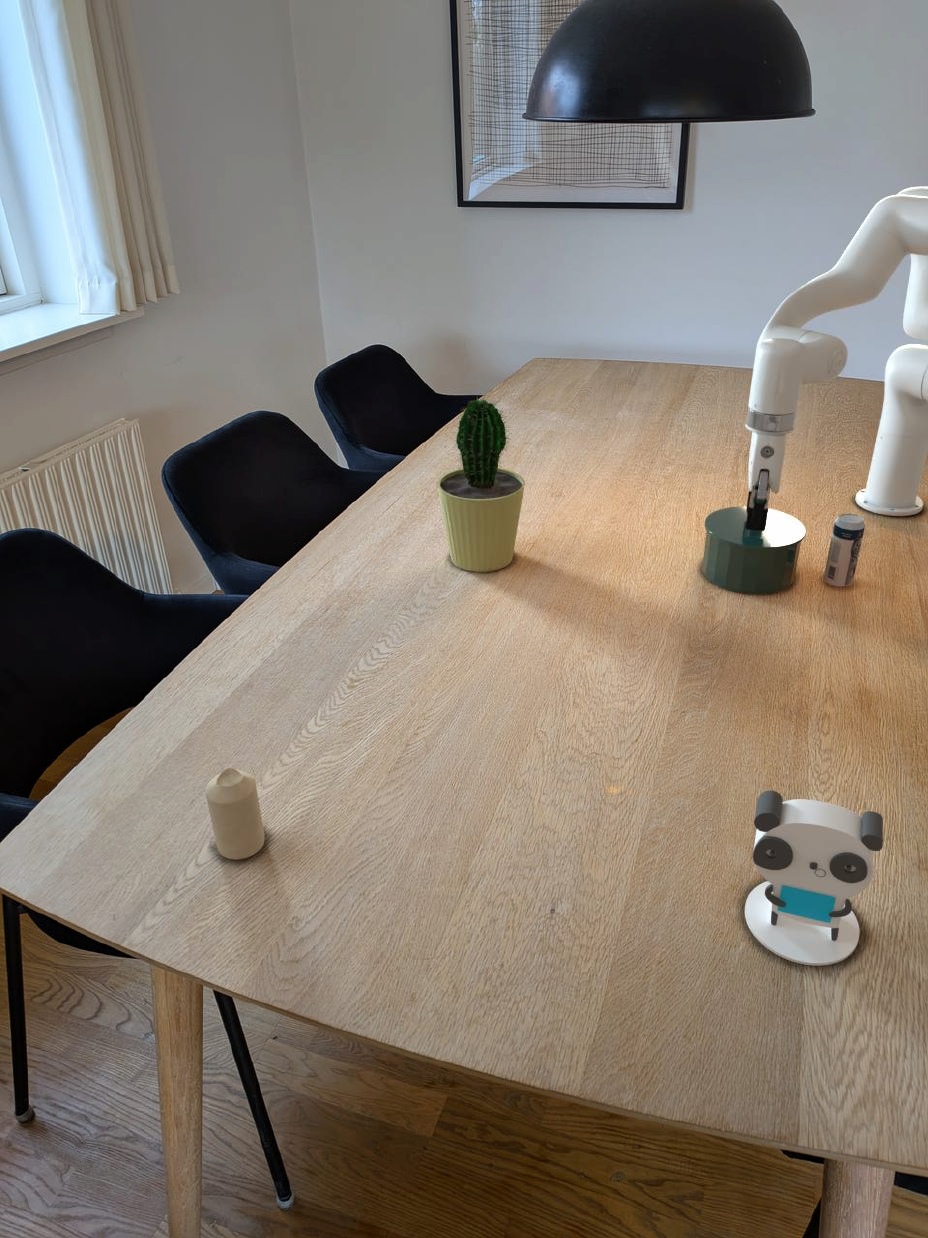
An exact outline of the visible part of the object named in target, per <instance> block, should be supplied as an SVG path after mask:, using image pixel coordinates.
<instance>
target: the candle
mask: <svg viewBox="0 0 928 1238" xmlns="http://www.w3.org/2000/svg"><path fill="white" fill-rule="evenodd" d="M256 782H257V781H256V780H255V777H254V776H253V775H252V774H250V773H248V772H245V771H242V770H239V769H237V768H233V767H228V768H226V769H224V770H223V771H221V772H220V773H218V774H216V776H214V777H212V779H211V780H210V781H209V782H208V783H207V784H206V787H205V797H206V802H207V807H208V812H209V816H210V817H209V818H210V821H211V826H212V831H213V837H214V841H215V845H216V849H217V852H218V853H219V854H220V856H222V857H224V858H225V859H228V860H237V861H238V860H244V859H247V858H250V857H252V856H254V855H256V854H257V853H258V852H259V851H261V849H262V848H263V846H264V844H265V831H264V830H265V829H264V824H263V818H262V812H261V806H260V799H259V794H258V789H257V783H256Z"/></svg>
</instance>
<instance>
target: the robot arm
mask: <svg viewBox="0 0 928 1238" xmlns="http://www.w3.org/2000/svg"><path fill="white" fill-rule="evenodd" d="M907 255H910V261H911V262H910V271H909V278H908V282H907V283H908V284H907V290H906V296H905V302H904V309H903V316H902V327H903V331H904V333H905V335H907V336H909V337H911V338H913V339H916V340H920V341H924V342H928V186H913V187H909V188H905V189H903V190H901V191H900V192H898V193H897V194H895V195H889V196H886V197H884V198H882V199H881V200H879V201H878V202H876V204H875V205H874V206H873V208H871V210H870V212H869V213H868V215H867V217H866V218H865V219H864V221H863V223H862V224H861V225H860V227H859V229H858V230H857V231H856V234H855V235H854V236H853V238H852V239H851V241H850V243H849V244H848V246H847V247H846V249H844V252H843V253H842V254H841V256H840V257H839V259H838V261H837V263H836V264H835V265H834V266H833V267H832V269H830V270H828V271H826V272H824V273H823V274H820V275H819V276H816V277H815V278H813V279H811V280H810V281H808V282H807V283H806V284H804V285H802V286H800V287H799V288H798V289H796V290H795V291H793V292H792V293H790V294H789V295H788V296H787V297H786V298H784V299H783V301H782V302H781V303H780V304H779V305H778V306H777V308H776V310H775V311H774V313H773V314H772V316H771V317H770V318H769V321H768V322H767V324H766V325H765V327H764V328H763V330H762V332H761V334H760V336H759V338H758V341H757V344H756V347H755V354H754V361H753V368H752V375H751V383H750V391H749V398H748V404H747V405H748V407H747V414H746V419H745V428H746V430H748V431H750V432H752V433H751V438H750V439H751V440H750V448H749V454H748V455H749V457H748V470H747V471H748V472H747V473H748V475H747V477H748V490H749V491H748V495H747V502H746V506H747V508H746V513H747V520H746V529H747V530H757V531H764V530H765V529H766V522H767V516H768V510H769V509H770V508H769V501H770V494H771V493H774V494H775V495H776V494H778V493H779V492H780V489H781V488H780V486H781V479H782V474H783V473H782V472H783V467H784V466H783V465H784V459H785V452H786V444H787V435H789V434H791V433H793V432H794V430H795V424H796V418H797V413H798V406H799V399H800V393H801V388H802V386H804V385H817V384H824V383H828V382H830V381H832V380H834V379H835V378H837V377H838V376H839V375H840V374H841V373H842V372H843V371H844V370H845V367H846V365H847V363H848V358H849V350H848V347H847V345H846V343H845V342H844V341H843V340H842V339H840V338H839V337H837V336H835V335H832V334H829V333H823V332H820V331H819V332H818V331H814V330H810V329H807V328H803V327H804V326H805V325H806V324H808V323H809V322H810V321H813V319H815V318H817V317H819V316H821V315H825V314H826V313H830V312H833V311H839V310H842V309H847V308H851V307H856V306H859V305H862V304H866V303H868V302H869V303H870V302H871V301H873V300H875V299H877V298H878V297H879V296H880V295H881V294H882V292H883V290H884V289H885V287H886V286H887V284H888V282H890V280H891V278H892V276H893V275H894V273H895V272H896V270H897V269H898V267H899V266H900V264H901V263H902V261H903V260H904V259H905V257H906V256H907ZM883 392H884V393H883V394H884V395H883V404H882V410H881V416H880V419H879V425H878V428H877V429H878V430H877V434H876V440H875V444H874V448H873V454H872V458H871V463H870V467H869V472H868V476H867V482H866V487H865V488H863V489H860V490H859V491H857V493H856V494H855V498H854V499H855V502H856V504H857V505H858V506H859V507H861V508H862V509H864V510H866V511H869V512H871V513H875V514H878V515H883V516H889V517H890V516H891V517H906V516H908V517H909V516H912V515H913V516H914V515H916V514H919V513H920V512H921V511H922V510H923V508H924V501H923V499H921V497H920V496H918V492H919V488H920V484H921V481H922V476H923V472H924V468H925V464H926V460H927V455H928V345H927V344H919V343H909V344H904V345H901V346H899V347H897V348H896V349H895V350H893V352H892V353H891V354H890V356H889V357H888V359H887V361H886V365H885V370H884V391H883ZM755 493H758V495H757V497H755ZM751 494H752V496H751V504H750V506H749V502H750V495H751Z"/></svg>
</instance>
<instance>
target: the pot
mask: <svg viewBox="0 0 928 1238" xmlns="http://www.w3.org/2000/svg"><path fill="white" fill-rule="evenodd" d="M801 545H802V541H801V542H800V543H798V544H796V545H794V546H792V547H788V548H784V549H778V550H753V549H745V548H740V547H736V546H732V545H729V544H726V543H723V542H721V541H719V540H717V539H715V538H714V537H712V536H711V535H710V534H709V533H708V532H707V531H706V533H705V541H704V548H703V557H702V564H701V565H702V566H701V571H702V575H703V576H704V577H705V578H706V580H708V581H709V582H710V583H711V584H714V585H715V586H717V587H720V588H721V589H724V590H728V591H731V592H735V593H740V594H746V595H767V594H768V595H770V594H774V593H779V592H781V591H784V590H786V589H788V588H789V587H790V586H791V585H793V584H794V583H793V582H794V580H795V578H796V573H797V567H798V562H799V557H800V551H801Z"/></svg>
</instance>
